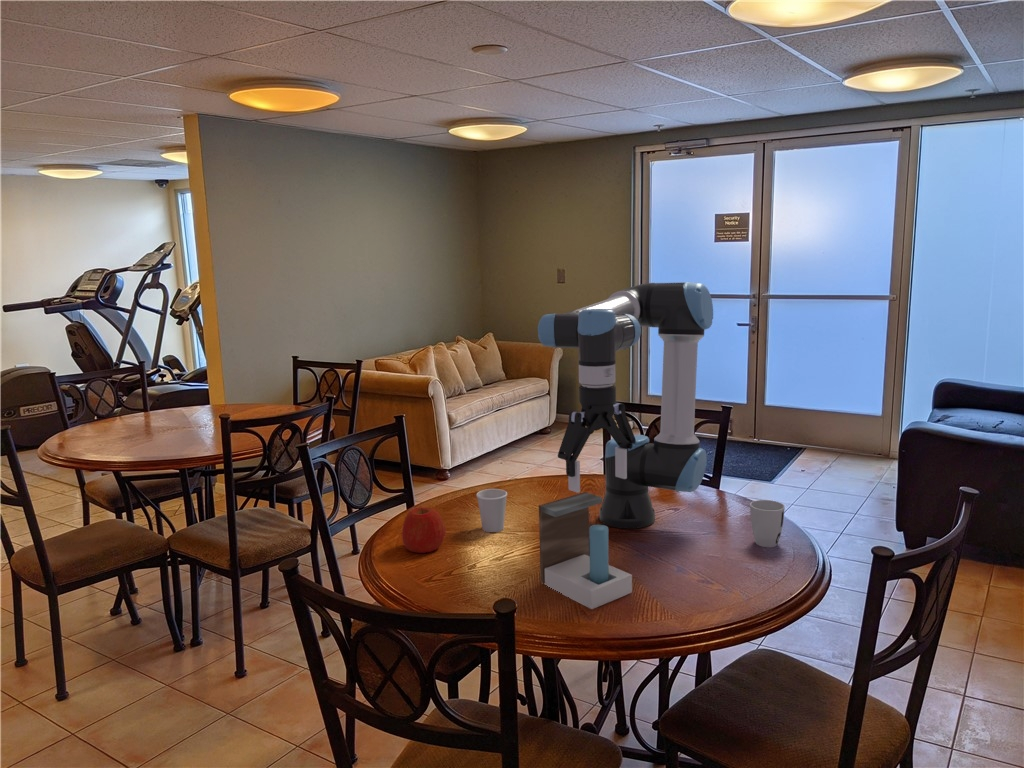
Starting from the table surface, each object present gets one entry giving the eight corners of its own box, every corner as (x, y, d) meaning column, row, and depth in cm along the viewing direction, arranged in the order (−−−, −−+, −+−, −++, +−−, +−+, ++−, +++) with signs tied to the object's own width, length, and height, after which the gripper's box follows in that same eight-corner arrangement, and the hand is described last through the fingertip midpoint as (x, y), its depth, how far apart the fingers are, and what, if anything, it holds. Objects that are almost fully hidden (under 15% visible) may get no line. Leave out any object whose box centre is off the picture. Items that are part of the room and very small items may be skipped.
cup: (785, 550, 179) (787, 511, 178) (751, 548, 181) (752, 510, 179) (780, 538, 187) (782, 500, 186) (747, 536, 189) (748, 499, 187)
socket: (544, 585, 164) (544, 568, 163) (584, 570, 171) (584, 554, 171) (591, 609, 152) (591, 591, 152) (632, 592, 160) (632, 574, 159)
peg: (586, 593, 160) (585, 527, 157) (599, 588, 162) (598, 523, 159) (599, 600, 156) (598, 532, 154) (612, 594, 159) (612, 528, 156)
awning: (540, 583, 165) (538, 505, 162) (586, 566, 174) (585, 491, 171) (556, 591, 161) (555, 511, 158) (602, 573, 169) (602, 497, 166)
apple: (453, 543, 190) (451, 503, 189) (431, 558, 181) (429, 517, 179) (417, 537, 195) (415, 499, 193) (394, 552, 185) (391, 512, 183)
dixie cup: (500, 521, 205) (499, 486, 203) (513, 530, 198) (512, 495, 196) (472, 526, 201) (471, 491, 200) (485, 536, 194) (483, 500, 192)
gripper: (563, 395, 141) (565, 501, 145) (652, 379, 156) (652, 475, 160) (538, 390, 147) (541, 492, 151) (626, 375, 162) (626, 468, 165)
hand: (598, 484), depth 155 cm, fingers open, 13 cm apart
